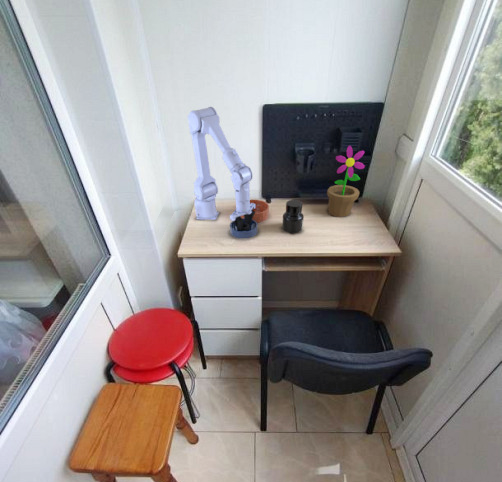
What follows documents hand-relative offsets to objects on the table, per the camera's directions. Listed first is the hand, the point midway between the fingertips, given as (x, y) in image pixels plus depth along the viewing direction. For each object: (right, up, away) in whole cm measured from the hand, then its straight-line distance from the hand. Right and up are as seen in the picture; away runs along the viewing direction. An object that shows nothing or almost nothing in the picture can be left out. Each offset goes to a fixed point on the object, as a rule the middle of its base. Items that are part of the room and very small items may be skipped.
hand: (243, 229), depth 124 cm
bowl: (+4, +9, +11) cm, 15 cm away
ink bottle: (+21, +1, +2) cm, 22 cm away
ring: (0, -1, +1) cm, 1 cm away
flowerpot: (+46, +12, +13) cm, 49 cm away
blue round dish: (0, -1, +1) cm, 1 cm away
